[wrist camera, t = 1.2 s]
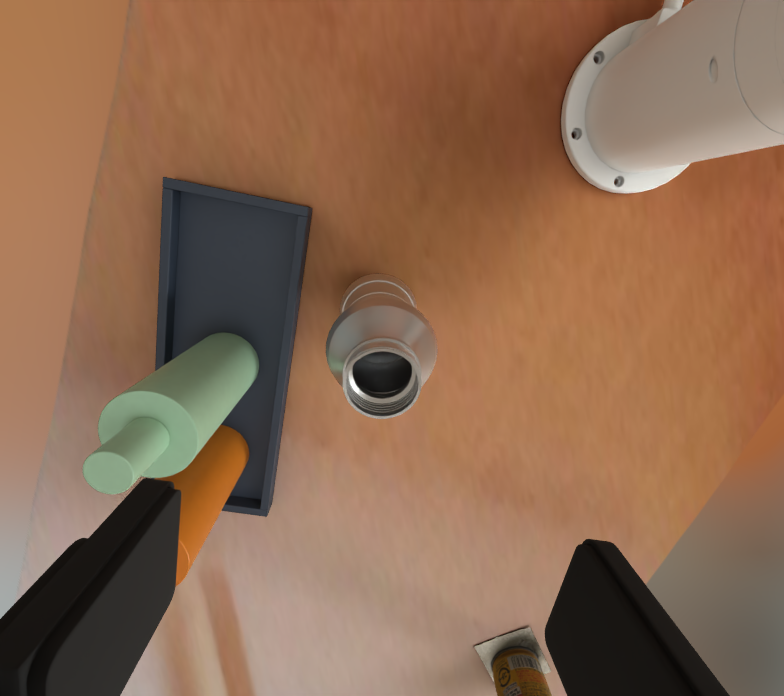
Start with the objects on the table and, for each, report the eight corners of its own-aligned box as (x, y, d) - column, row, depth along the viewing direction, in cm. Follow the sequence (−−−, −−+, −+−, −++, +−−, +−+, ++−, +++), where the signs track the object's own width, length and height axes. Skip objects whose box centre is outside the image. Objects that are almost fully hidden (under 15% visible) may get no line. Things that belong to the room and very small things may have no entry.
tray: (175, 179, 35) (162, 176, 33) (312, 208, 36) (308, 206, 34) (160, 488, 43) (149, 500, 41) (271, 503, 44) (266, 517, 42)
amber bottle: (190, 419, 40) (51, 565, 23) (252, 429, 41) (161, 578, 24) (186, 472, 42) (54, 645, 25) (246, 481, 42) (157, 656, 25)
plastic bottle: (340, 270, 37) (303, 317, 18) (415, 269, 37) (456, 315, 18) (343, 339, 39) (312, 448, 20) (414, 337, 39) (451, 444, 20)
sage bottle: (196, 326, 38) (45, 412, 20) (262, 338, 38) (169, 431, 21) (192, 386, 39) (49, 513, 22) (256, 397, 40) (164, 528, 23)
